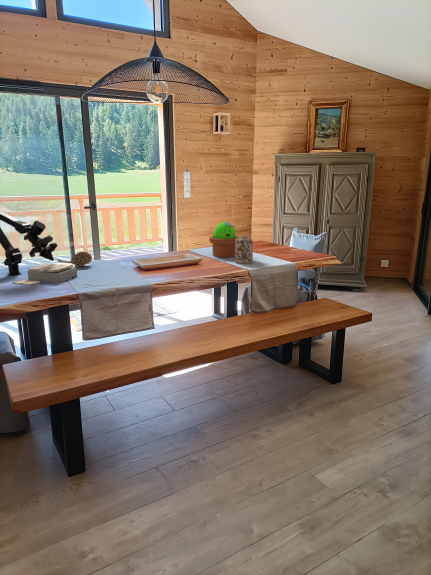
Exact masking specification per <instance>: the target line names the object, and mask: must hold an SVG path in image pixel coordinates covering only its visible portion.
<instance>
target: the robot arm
mask: <svg viewBox="0 0 431 575" xmlns="http://www.w3.org/2000/svg"><path fill="white" fill-rule="evenodd" d="M0 221H2V222H4V223H5V224H7V225H9V226H11V227H12V228H14V230H15V231H16V232H18V234H20V235H23V240H24V241H27V240H28V241H29V242H30V244H31V247H32V248H31V249H30V251H29V252H28V253H29V254H28V255H29V256H30V258H35V257H36V254H38V253H39V255H38V256H39V257H42V258H44V259H46V260H48V261H51V262H54V261H55V258H54V256H53V254H52V253H53V252H54V251H55V250H56V249H57V248H58V246H59V245H58V244H57V243H56V242H53V241H54V238H53V237H54V236H52V235H50V234H49V235H46V236H45V237H40V236H41V235H42V233H43V232H44V231H45V230H46V228H47V226H46V225H45V224H44V223H42V222H41V221H39V220H35V221H34V222H33V223H32V224H31V223H30V222H26V221H21V220H18V219H17V218H15V217H13V216H11V215H9V214H7V213H5V211H0ZM24 234H25V235H24ZM49 243H50V244H49ZM0 245H1V247H2V248H3V250H4V256H5V260H4V261H3V265H4V266H7V268H8V272H7V273H6V274H7V275H9V276H11V277H13V276H17V275H19V276H20V275H22V273H21V272H20V269H19V264H22V261H23V254H22V253H23V252H22V251H21V250H20V249H19V248H18V247H16V248H15V247H14V246H13V244H12V243H11V242H10V240H9V239H8V237H7V235H6V234H5V232H4V231H3V229H2V227H0Z"/></svg>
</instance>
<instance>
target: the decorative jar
mask: <svg viewBox="0 0 431 575" xmlns="http://www.w3.org/2000/svg"><path fill="white" fill-rule="evenodd" d="M239 237H240V238H236V240H235V256H234V262H235V264H253V262H254V261H253V258H254V257H253V256H254V255H253V254H254V247H253V246H254V242H253V238H252V237H249V236H248V235H247V234H243V235H241V234H240V236H239Z"/></svg>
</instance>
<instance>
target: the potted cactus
mask: <svg viewBox="0 0 431 575" xmlns="http://www.w3.org/2000/svg"><path fill="white" fill-rule="evenodd" d="M208 237H209V240H208V241H209V244H212V256H214V257H216V258H232V257H235V240H236V238H240V237H241V236H239V235H236V230H235V227H234V226H233V225H232V224H231V223H230V221H227V222H226V221H222V222H219V223H218V224H217V225H216V226H215V227H214V230H213V235H210V236H208Z"/></svg>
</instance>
